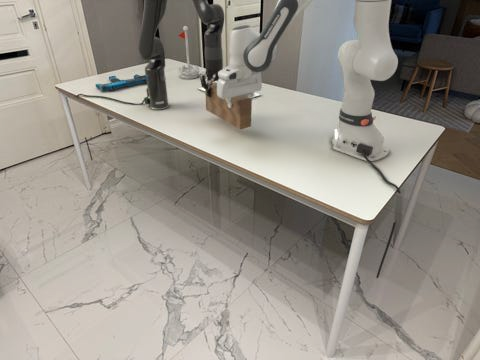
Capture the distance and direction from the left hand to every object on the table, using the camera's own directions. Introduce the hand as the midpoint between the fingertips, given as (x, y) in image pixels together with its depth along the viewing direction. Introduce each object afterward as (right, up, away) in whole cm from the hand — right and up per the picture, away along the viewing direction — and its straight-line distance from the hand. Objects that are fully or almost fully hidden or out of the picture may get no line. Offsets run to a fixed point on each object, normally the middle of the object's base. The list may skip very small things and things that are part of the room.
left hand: (215, 95), depth 153 cm
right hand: (+11, -8, -14) cm, 20 cm away
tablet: (+5, +12, +40) cm, 42 cm away
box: (+6, -11, -2) cm, 12 cm away
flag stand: (-21, +29, +66) cm, 75 cm away
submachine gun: (-59, +21, +54) cm, 83 cm away
